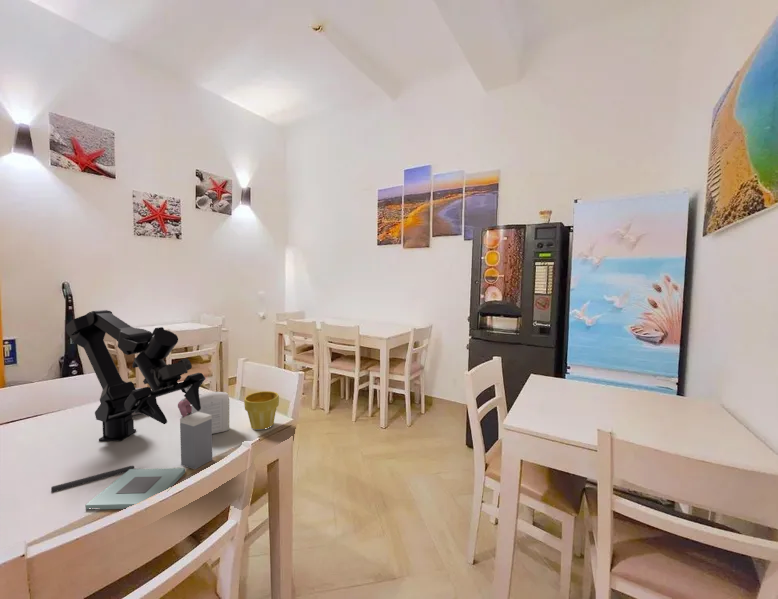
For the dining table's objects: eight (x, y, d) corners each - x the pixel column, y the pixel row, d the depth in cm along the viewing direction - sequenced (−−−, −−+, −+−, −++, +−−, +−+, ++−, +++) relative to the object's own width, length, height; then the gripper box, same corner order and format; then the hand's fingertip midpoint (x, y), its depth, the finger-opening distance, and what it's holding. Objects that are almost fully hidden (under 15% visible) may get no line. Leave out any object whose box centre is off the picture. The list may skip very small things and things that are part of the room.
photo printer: (228, 425, 109) (228, 388, 108) (230, 431, 105) (230, 391, 105) (191, 433, 103) (190, 393, 102) (192, 439, 100) (191, 398, 99)
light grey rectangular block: (181, 464, 86) (180, 418, 86) (199, 455, 91) (198, 411, 90) (194, 469, 84) (193, 422, 84) (212, 459, 89) (211, 415, 88)
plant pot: (237, 429, 106) (236, 399, 106) (260, 417, 116) (260, 389, 115) (263, 435, 103) (263, 404, 102) (285, 422, 112) (285, 393, 112)
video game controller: (208, 411, 124) (203, 392, 125) (214, 408, 121) (209, 389, 123) (178, 420, 116) (174, 400, 117) (184, 417, 113) (179, 397, 115)
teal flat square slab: (85, 509, 69) (85, 504, 69) (130, 473, 82) (130, 468, 82) (151, 508, 70) (151, 503, 70) (185, 472, 83) (185, 467, 83)
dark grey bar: (51, 493, 75) (51, 488, 75) (52, 490, 76) (52, 485, 76) (134, 470, 84) (134, 466, 84) (134, 468, 85) (134, 464, 85)
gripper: (129, 358, 81) (160, 411, 78) (200, 344, 98) (228, 387, 95) (111, 386, 85) (140, 438, 81) (182, 368, 102) (209, 410, 98)
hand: (183, 416), depth 89 cm, fingers open, 9 cm apart
